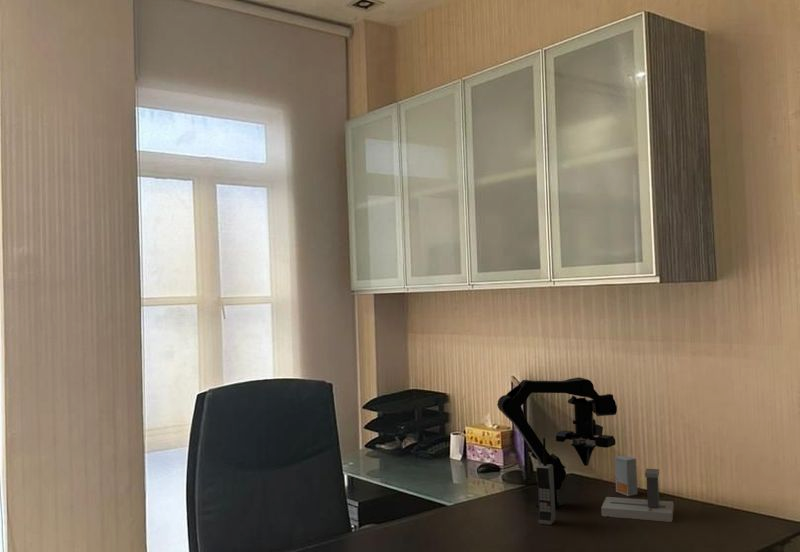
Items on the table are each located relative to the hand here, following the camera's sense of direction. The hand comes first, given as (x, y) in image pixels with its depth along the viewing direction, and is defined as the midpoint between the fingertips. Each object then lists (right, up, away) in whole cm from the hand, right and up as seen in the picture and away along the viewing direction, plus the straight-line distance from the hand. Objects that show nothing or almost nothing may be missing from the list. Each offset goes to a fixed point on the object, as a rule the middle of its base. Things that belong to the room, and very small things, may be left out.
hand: (586, 465), depth 229 cm
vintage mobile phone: (-16, -12, -18) cm, 27 cm away
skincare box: (+16, -12, +8) cm, 21 cm away
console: (+13, -11, -13) cm, 21 cm away
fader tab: (+17, -8, -14) cm, 23 cm away
